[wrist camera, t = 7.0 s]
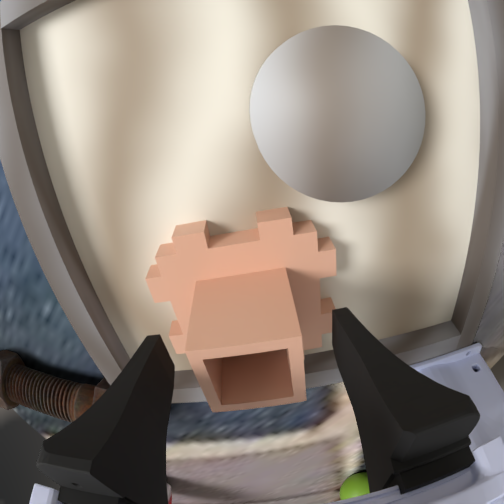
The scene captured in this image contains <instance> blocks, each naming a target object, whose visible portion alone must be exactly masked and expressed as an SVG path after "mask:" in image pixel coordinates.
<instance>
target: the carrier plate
mask: <svg viewBox="0 0 504 504" xmlns="http://www.w3.org/2000/svg"><path fill="white" fill-rule="evenodd" d="M0 159H1V162H2V166H3V169H4V172H5V176H6V179H7V182H8V185H9V188H10V191H11V194H12V197H13V200H14V202H15V205H16V208H17V211H18V213H19V216H20V219H21V221H22V224H23V226H24V229H25V231H26V234H27V236H28V238H29V241H30V243H31V245H32V248H33V250H34V252H35V255H36V257H37V259H38V261H39V263H40V265H41V268H42V270H43V272H44V274H45V276H46V278H47V280H48V282H49V284H50V286H51V288H52V290H53V292H54V294H55V296H56V298H57V300H58V301H59V303H60V305H61V307H62V309H63V311H64V312H65V314H66V316H67V318H68V320H69V321H70V323H71V325H72V327H73V328H74V330H75V332H76V333H77V335H78V337H79V338H80V340H81V342H82V343H83V345H84V347H85V348H86V350H87V351H88V353H89V354H90V356H91V358H92V359H93V361H94V362H95V364H96V365H97V367H98V368H99V370H100V371H101V373H102V374H103V376H104V377H105V379H106V380H107V381H108V383H109V384H110V386H111V384H112V383H113V382H114V380H115V379H116V378H117V377H118V375H119V374H120V373H121V372H122V370H123V369H124V367H125V366H126V365H127V363H128V362H129V361H130V359H131V358H132V356H133V355H134V353H135V352H136V350H137V349H138V348H139V346H140V345H141V343H142V342H143V341H144V339H145V338H146V336H147V335H158V334H160V335H161V337H162V340H163V342H164V344H165V346H166V348H167V350H168V352H169V355H170V357H171V359H172V361H173V363H174V365H175V378H174V390H173V396H172V403H187V402H202V401H207V400H206V398H205V395H204V393H203V391H202V389H201V387H200V385H199V382H198V380H197V378H196V376H195V374H194V371H193V369H192V367H191V365H190V362H189V360H188V358H187V356H186V353H184V354H176V352H175V349H174V347H173V345H172V343H171V340H170V338H169V332H170V327H171V323H172V321H175V320H177V317H176V315H175V312H174V310H173V307H172V304H171V302H170V301H167V302H159V303H154V300H153V298H152V295H151V293H150V290H149V287H148V285H147V282H146V280H145V278H146V276H147V273H148V271H149V268H150V266H151V265H155V264H157V263H156V260H155V256H156V253H157V251H158V249H159V246H160V245H161V244H166V243H172V242H173V241H172V238H171V237H172V235H173V232H174V229H175V227H176V225H181V224H187V223H192V222H198V221H203V220H206V221H207V225H208V230H209V234H210V236H213V235H219V234H225V233H231V232H237V231H243V230H249V229H256V228H258V225H257V218H256V212H257V211H263V210H270V209H276V208H282V207H288V210H289V212H290V215H291V218H292V223H294V222H300V221H307V220H311V221H312V223H313V225H314V227H315V229H316V231H317V239H318V238H324V237H330V239H331V241H332V243H333V245H334V247H335V248H336V275H337V276H331V277H325V278H320V296H321V299H324V298H329V297H331V298H332V301H333V303H334V306H335V309H339V308H344V307H347V308H348V309H349V310H350V311H351V312H352V313H353V314H354V315H355V317H356V318H357V319H358V320H359V321H360V322H361V323H362V324H363V325H364V326H365V327H366V329H367V330H368V331H369V332H370V333H371V334H372V335H374V336H375V337H376V338H377V339H378V340H379V341H380V342H381V343H382V344H383V345H384V346H385V347H386V348H387V349H389V350H390V351H391V352H392V353H393V354H395V355H396V356H397V357H398V358H400V359H401V360H402V361H404V362H405V363H406V364H408V365H411V364H414V363H418V362H421V361H424V360H428V359H431V358H434V357H437V356H440V355H443V354H446V353H449V352H452V351H455V350H458V349H461V348H463V347H466V346H469V345H472V343H473V340H474V338H475V335H476V332H477V330H478V327H479V324H480V321H481V319H482V316H483V313H484V310H485V307H486V304H487V301H488V298H489V294H490V291H491V288H492V284H493V281H494V277H495V274H496V270H497V266H498V262H499V258H500V254H501V250H502V245H503V241H504V0H2V1H0ZM304 358H305V360H304V371H305V386H306V389H307V388H313V387H318V386H324V385H329V384H334V383H339V382H343V380H342V377H341V374H340V372H339V369H338V366H337V363H336V359H335V355H334V350H333V346H332V332H331V333H326V334H322V347H319V348H314V349H308V350H304Z"/></svg>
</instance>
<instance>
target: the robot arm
mask: <svg viewBox="0 0 504 504" xmlns="http://www.w3.org/2000/svg"><path fill="white" fill-rule="evenodd" d="M332 346H333V350H334V355H335V359H336V363H337V366H338V369H339V372H340V374H341V377H342V380H343V382H344V385H345V388H346V390H347V393H348V396H349V399H350V401H351V404H352V407H353V410H354V413H355V417H356V421H357V425H358V430H359V434H360V439H361V444H362V448H363V454H364V459H365V465H366V470H367V477H368V484H369V491H370V493H369V494H365V495H361V496H357V497H353V498H349V499H345V500H340V501H335V502H331V503H325V504H504V391H503V390H502V388H501V386H500V385H499V383H498V381H497V380H496V378H495V377H494V375H493V373H492V372H491V370H490V368H489V367H488V365H487V364H486V362H485V361H484V359H483V358H482V356H481V355H480V350H481V348H482V345H481V344H480V343H476V344H473V345H470V346H468V347H465V348H462V349H459V350H457V351H454V352H451V353H448V354H445V355H442V356H439V357H436V358H433V359H429V360H426V361H423V362H420V363H416V364H413V365H408V364H406V363H405V362H404V361H402V360H401V359H400V358H398V357H397V356H396V355H395V354H393V353H392V352H391V351H390V350H389V349H387V348H386V347H385V346H384V345H383V344H382V343H381V342H380V341H379V340H378V339H377V338H376V337H375V336H374V335H372V334H371V333H370V332H369V331H368V330H367V329H366V327H365V326H364V325H363V324H362V323H361V322H360V321H359V320H358V319H357V318H356V317H355V315H354V314H353V313H352V312H351V311H350V310H349V309H348V308H347V307H344V308H339V309H334V310H332ZM174 378H175V365H174V363H173V361H172V359H171V357H170V355H169V352H168V350H167V348H166V346H165V344H164V342H163V340H162V337H161V335H160V334H158V335H147V336H146V338H145V339H144V341H143V342H142V343H141V345H140V346H139V348H138V349H137V350H136V352H135V353H134V355H133V356H132V358H131V359H130V361H129V362H128V363H127V365H126V366H125V367H124V369H123V370H122V372H121V373H120V374H119V375H118V377H117V378H116V379H115V380H114V382H113V383H112V384H111V386H110V387H109V388H108V389H107V390H106V391H105V393H104V394H103V395H102V396H101V397H100V398H99V399H98V400H97V401H96V402H95V403H94V404H93V405H92V406H91V407H90V408H89V409H88V410H86V411H85V412H84V413H83V414H82V415H81V416H80V417H79V418H77V419H76V420H75V421H74V422H72V423H71V424H70V425H68V426H67V427H65V428H64V429H63V430H61V431H60V432H58V433H56V434H55V435H53V436H52V437H50V438H48V439H47V440H45V441H44V442H43V444H42V447H41V450H40V453H39V457H38V460H37V463H36V465H37V468H38V469H39V470H40V471H41V472H42V473H43V474H44V475H46V476H47V477H49V478H50V479H52V480H53V481H54V482H56V483H57V484H59V485H60V486H61V487H60V491H58V490H56V489H53V488H49V487H46V486H43V485H40V484H34V487H33V491H32V495H31V499H30V503H29V504H168V494H167V480H166V436H167V427H168V421H169V415H170V409H171V403H172V396H173V390H174Z"/></svg>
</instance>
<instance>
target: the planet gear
mask: <svg viewBox="0 0 504 504" xmlns="http://www.w3.org/2000/svg"><path fill="white" fill-rule="evenodd" d="M256 218H257V225H258V228H256V229H249V230H243V231H237V232H231V233H225V234H219V235H213V236H210V234H209V230H208V225H207V221H206V220H203V221H198V222H192V223H187V224H181V225H176V227H175V229H174V232H173V235H172V237H171V238H172V241H173V242H172V243H166V244H161V245H160V246H159V249H158V251H157V253H156V256H155V260H156V263H157V264H155V265H151V266H150V268H149V271H148V273H147V276H146V278H145V280H146V282H147V285H148V287H149V290H150V293H151V295H152V298H153V300H154V303H159V302H167V301H170V302H171V304H172V307H173V310H174V312H175V315H176V317H177V320H175V321H172V323H171V327H170V332H169V338H170V340H171V343H172V345H173V347H174V349H175V352H176V354H184V353H186V356H187V358H188V360H189V362H190V365H191V367H192V369H193V371H194V374H195V376H196V378H197V380H198V382H199V385H200V387H201V389H202V391H203V393H204V395H205V398H206V400H207V402H208V404H209V406H210V408H211V410H212V412H223V411H234V410H244V409H253V408H261V407H269V406H276V405H283V404H289V403H296V402H302V401H306V386H305V371H304V360H305V358H304V350H308V349H314V348H319V347H322V334H326V333H331V332H332V310H334V309H335V306H334V303H333V301H332V298H331V297H329V298H324V299H321V296H320V278H325V277H331V276H337V275H336V248H335V247H334V245H333V243H332V241H331V239H330V237H324V238H318V239H317V231H316V229H315V227H314V225H313V223H312V221H311V220H307V221H300V222H294V223H292V218H291V215H290V212H289V210H288V207H282V208H276V209H270V210H263V211H257V212H256Z"/></svg>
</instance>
